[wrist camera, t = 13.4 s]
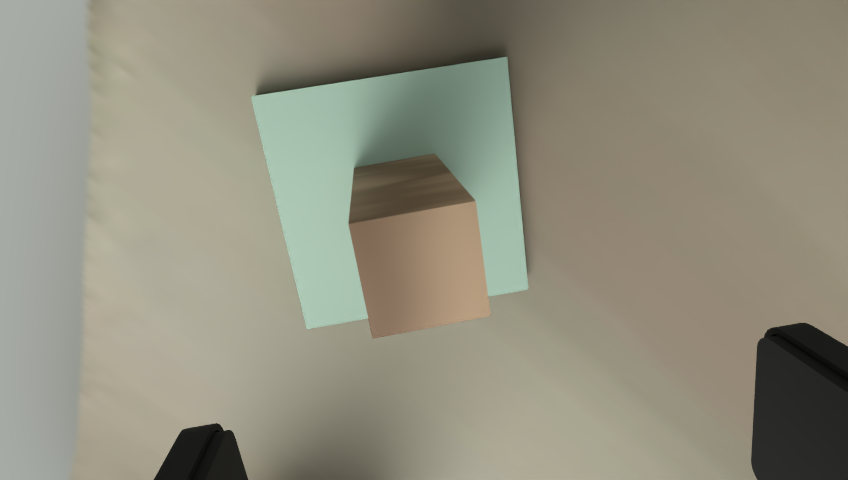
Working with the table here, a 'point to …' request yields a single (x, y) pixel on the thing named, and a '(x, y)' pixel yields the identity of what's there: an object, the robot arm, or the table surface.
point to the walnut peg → (416, 246)
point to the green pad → (383, 142)
